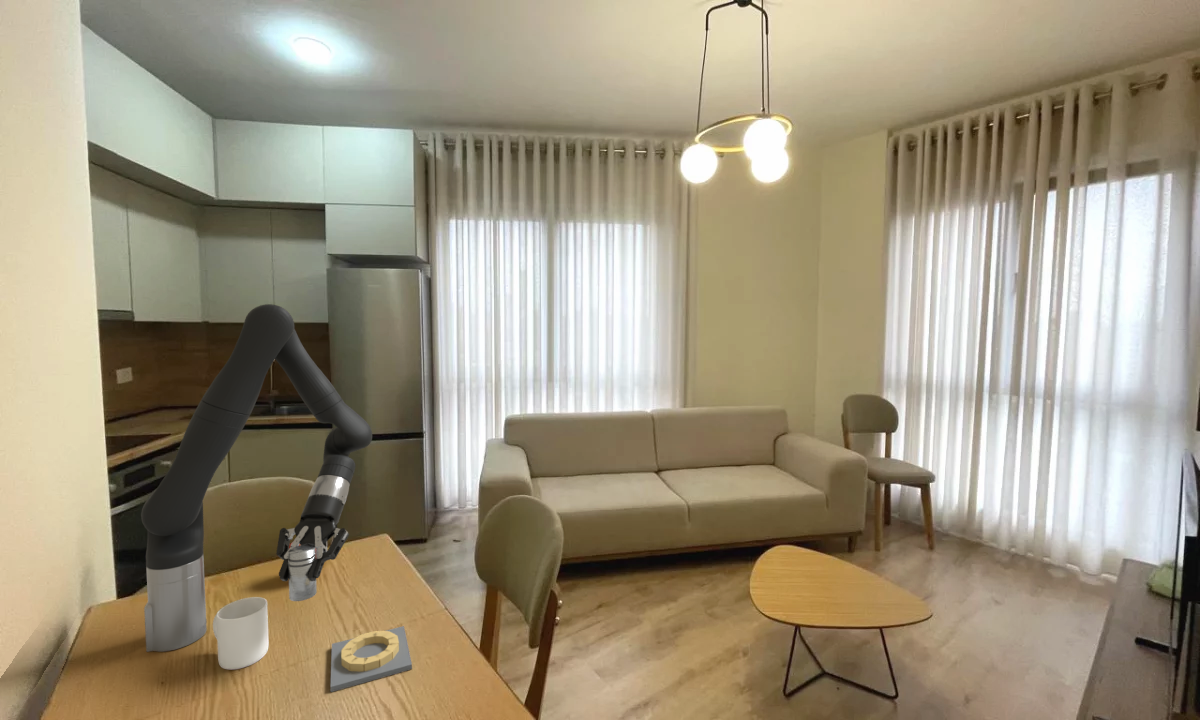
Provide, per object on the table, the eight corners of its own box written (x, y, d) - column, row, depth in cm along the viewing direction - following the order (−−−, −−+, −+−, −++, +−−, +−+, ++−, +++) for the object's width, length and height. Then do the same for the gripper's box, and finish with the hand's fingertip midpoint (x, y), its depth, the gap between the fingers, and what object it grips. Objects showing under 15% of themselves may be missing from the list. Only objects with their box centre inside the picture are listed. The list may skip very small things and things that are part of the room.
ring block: (330, 692, 92) (330, 679, 91) (332, 648, 104) (331, 636, 104) (411, 669, 98) (411, 656, 98) (404, 630, 110) (403, 619, 110)
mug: (194, 661, 99) (192, 611, 99) (236, 637, 107) (234, 590, 107) (238, 675, 96) (236, 623, 95) (278, 649, 104) (277, 600, 103)
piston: (287, 603, 99) (286, 557, 99) (290, 591, 104) (288, 547, 103) (316, 597, 102) (315, 552, 101) (317, 586, 106) (316, 542, 105)
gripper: (286, 492, 109) (251, 573, 97) (353, 493, 109) (326, 573, 98) (300, 507, 114) (269, 586, 103) (364, 508, 115) (340, 586, 104)
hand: (297, 579), depth 101 cm, fingers closed on piston, 5 cm apart
